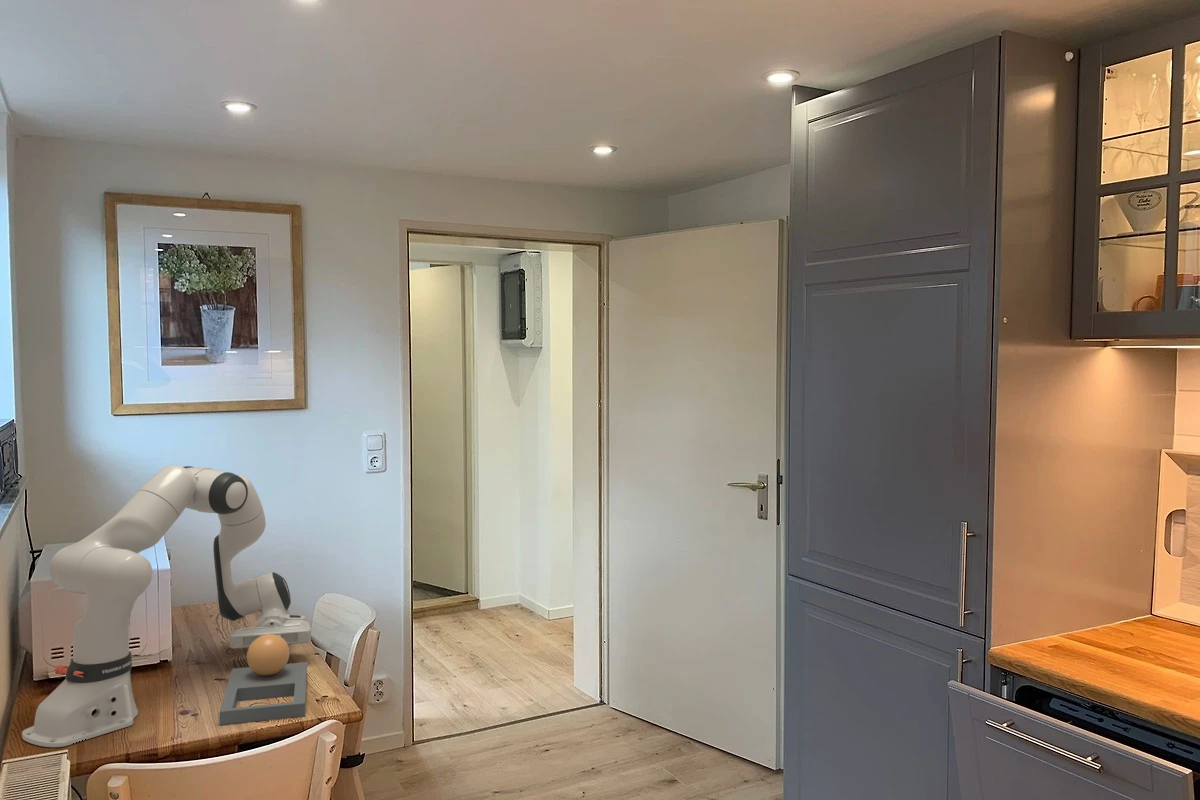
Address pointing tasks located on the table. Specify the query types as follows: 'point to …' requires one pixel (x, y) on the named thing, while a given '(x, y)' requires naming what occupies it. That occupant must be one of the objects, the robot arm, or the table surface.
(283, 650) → the ball
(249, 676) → the deck
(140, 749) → the table surface
